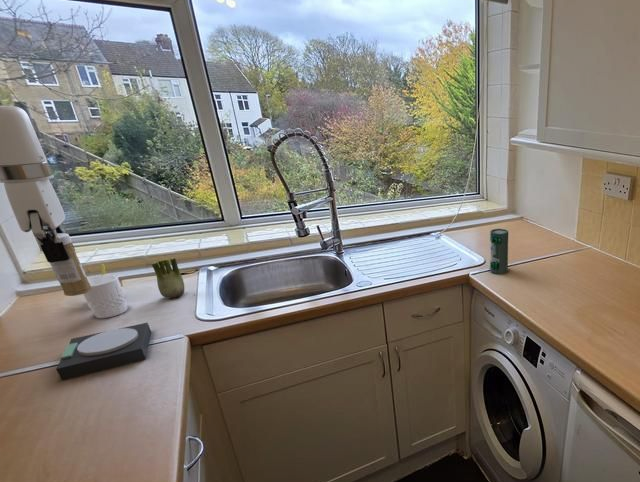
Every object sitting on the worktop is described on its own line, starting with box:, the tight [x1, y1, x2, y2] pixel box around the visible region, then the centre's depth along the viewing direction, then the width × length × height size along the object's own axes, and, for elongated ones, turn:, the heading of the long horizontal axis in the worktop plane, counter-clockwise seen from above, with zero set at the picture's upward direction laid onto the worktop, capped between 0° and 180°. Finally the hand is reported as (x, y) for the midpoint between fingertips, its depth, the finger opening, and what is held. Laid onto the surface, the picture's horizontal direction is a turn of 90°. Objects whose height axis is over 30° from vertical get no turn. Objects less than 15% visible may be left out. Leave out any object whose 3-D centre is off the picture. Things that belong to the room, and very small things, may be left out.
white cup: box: [82, 274, 129, 319], centre depth 112 cm, size 8×8×10 cm
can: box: [489, 228, 509, 275], centre depth 145 cm, size 6×6×15 cm
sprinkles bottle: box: [49, 233, 92, 297], centre depth 89 cm, size 5×5×13 cm
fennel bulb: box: [151, 257, 185, 299], centre depth 121 cm, size 6×5×12 cm
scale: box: [55, 322, 152, 381], centre depth 96 cm, size 14×14×4 cm
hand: (62, 256), depth 88 cm, fingers closed on sprinkles bottle, 4 cm apart
